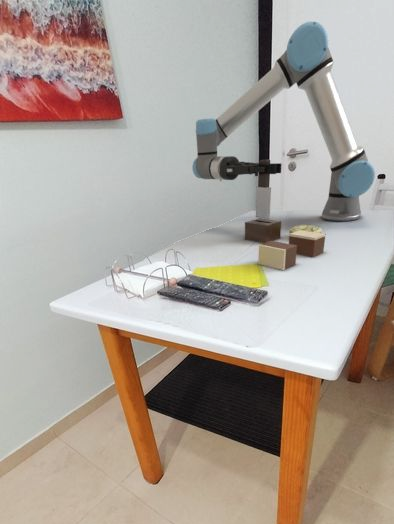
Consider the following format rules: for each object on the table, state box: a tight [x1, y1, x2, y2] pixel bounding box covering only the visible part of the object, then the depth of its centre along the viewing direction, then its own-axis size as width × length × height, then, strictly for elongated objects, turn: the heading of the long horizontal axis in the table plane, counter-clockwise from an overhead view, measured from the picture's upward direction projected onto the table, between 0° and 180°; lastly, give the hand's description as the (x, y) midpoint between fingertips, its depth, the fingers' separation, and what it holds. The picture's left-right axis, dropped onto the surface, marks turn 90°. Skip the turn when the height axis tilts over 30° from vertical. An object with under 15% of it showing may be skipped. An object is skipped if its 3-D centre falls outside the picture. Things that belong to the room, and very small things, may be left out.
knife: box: [255, 159, 272, 220], centre depth 114 cm, size 2×6×18 cm, turn 41°
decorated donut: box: [288, 224, 323, 234], centre depth 119 cm, size 10×11×4 cm
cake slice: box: [257, 240, 297, 271], centre depth 96 cm, size 6×9×6 cm
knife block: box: [244, 218, 282, 244], centre depth 121 cm, size 8×10×6 cm
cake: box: [288, 230, 326, 258], centre depth 104 cm, size 6×9×6 cm, turn 41°
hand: (278, 168), depth 107 cm, fingers closed on knife, 2 cm apart
